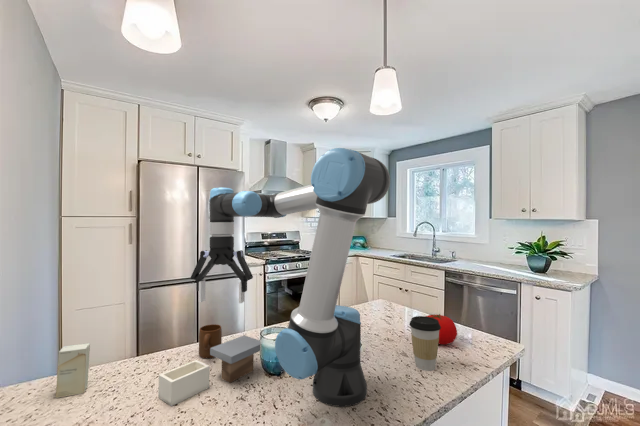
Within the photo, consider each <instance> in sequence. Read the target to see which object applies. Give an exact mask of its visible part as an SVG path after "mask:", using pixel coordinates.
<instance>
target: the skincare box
mask: <svg viewBox="0 0 640 426" xmlns="http://www.w3.org/2000/svg"><path fill="white" fill-rule="evenodd" d="M90 348H91V343H90V342H89V343H88V342H87V343H79V344H73V345H64V346H62V347H61V349H60V350H59V351H58V359H57V371H56V389H55V399H59V398H63V397H65V398H66V397H70V396H76V395H77V396H78V395H82V394H85V391H86V390H87V388H88V384H89V383H88V382H89V367H90V351H91V349H90Z"/></svg>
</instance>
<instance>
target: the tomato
mask: <svg viewBox="0 0 640 426" xmlns="http://www.w3.org/2000/svg"><path fill="white" fill-rule="evenodd" d="M425 316H426V317H431V318H434V319H437V320H438V321H439V324H440V326H441V329H440V330H439V343H438V345H444V346H445V345H449V344H452V343H454V341H456V339H457V336H458V330H457V326H456V324H455V322H454V320H453V319H451V318H450V317H448V316H445V315H443V314H442V315H441V313H439V314H432V313H431V314H430V313H429V314H428V315H425Z"/></svg>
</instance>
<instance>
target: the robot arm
mask: <svg viewBox="0 0 640 426" xmlns="http://www.w3.org/2000/svg"><path fill="white" fill-rule="evenodd" d="M310 183H311V184H308V185H304V186H299V187H297V188H292V189H289V190H285V191H281V192H277V193H273V194H262V193H257V192H255V191H252V190H250V191H249V190H248V191H247V190H242V191H238V192H235V191H234V189H232V188H230V187H213V188H212V189H210V191H209V235H210V237H209V251H208V250H201V251H200V252H199V253H200V254H199V259H198V260H197V263H196V265H195V267H194V269H193V270H192V273H191V276H190V279H191V280H193V281H195V282H196V291H197V292H198V303H203V302H205V301H206V280H205V278H206V277H207V275H208V274H209V272H210V271H211V270H212V269H213V267H214V266H217V265H218V266H219V265H222V266H224V265H225V266H226V265H227V266H228V267H230V269H231V270H232V271H233V273H234V274H235V275H236V276H237V278H239V280H240V281H239V282H238V304H243V303H244V302H245V293H246V292H247V291H248V281H250V280H253V278H254V275H253V274H252V271H251V270H250V267H249V264H248V262H247V261H246V258H245V254H244V251H243V250H237V251H235V250H234V247H235V245H234V244H235V237H234V232H235V227H234V225H235V223H234V222H235V218H236V217H237V218H239V217H240V218H243V217H244V218H250V217H251V218H274V219H278V218H284V217H286V216H287V215H291V214H295V213H297V214H298V213H301V212H307V211H311V210H318V211H319V216H318V221H317V225H316V229H315V235H314V239H313V244H312V247H311V252H310V257H309V261H308V267H307V270H306V275H305V280H304V284H303V290H302V294H301V298H300V302H299V306H298V307H296V308H294V309H293V310H292V311H291V313H290V317H289V322H288V327H287V328H286V327H285V328H283V329H282V330H281V331H279V332H278V334H277V335H276V338H275V342H274V349H275V355H276V358H277V360H278V364H279V365H280V366H281V368H282V369H283V370H284V371H285V372H286V374H288V376H290V377H292V378H294V379H295V380H304V379H307V378H309V377H313V379H312V395H313V396H314V397H315V398H316V399H317V400H318V401H319V402H321V403H323V404H325V405H328V406H334V407H351V406H354V405H357V404H359V403H361V402H362V401H364V400H365V398H366V396H367V393H368V390H367V389H368V384H367V380H366V377H365V374H364V371H363V367H362V363H361V337H362V336H361V332H362V331H361V328H362V322H361V313H360V312H359V310H358V309H356V308H354V307H351V306H346V305H337V303H338V299H339V294H340V290H341V287H342V283H343V278H344V274H345V271H346V270H345V269H346V266H347V261H348V258H349V257H348V256H349V253H350V248H351V244H352V241H353V237H354V232H355V228H356V224H357V221H359V219H361V218H363V217H364V216H365V215H366V211H367V207H368V205H370V204H374V203H377V202H379V201H380V200H382V199H383V198H384V197H385V196H386V195H387V193H388V191H389V190H390V186H391V176H390V173H389V170H388V167H386V165H385V164H384V163H383V162H382V161H381V160H379V159H377V158H374V157H371V156H368V155H366V154H365V153H364V154H363V153H361V152H359V151H357V150H353V149H349V148H344V147H336V148H331V149H329V150H327V151H326V152H325V153H324V154H322V155H320V157H319V158H318V159H317V160H316V161H315V164H314V165H313V167H312V170H311V174H310ZM208 257H209V259H210V260H208V262H207V264H206V265H205V263H206V261H207V258H208ZM234 257H235V258H236V259H237V261H238V264H239V265H240V267H239V265H238V264H237V262H236V260H235V259H234ZM204 265H205V266H204ZM203 267H204V268H203Z"/></svg>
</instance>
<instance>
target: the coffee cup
mask: <svg viewBox="0 0 640 426" xmlns="http://www.w3.org/2000/svg"><path fill="white" fill-rule="evenodd" d="M426 316H427V315H423V316H422V315H417V316H416V315H415V316H412V317H411V319H410V321H409V327H410V329H411V333H410V335H411V336H410V337H411V342H412V343H411V344H412V353H413V356H414V366H415V367H416V368H417V369H419V370H421V371H425V372H431V371H432V372H433V371H434V370H435V369H436V367H437V366H436V364H437V357H438V350H439V344H438V343H439V330H440V329H441V326H440V324H439V321H438V320H437V319H434V318H431V317H426Z"/></svg>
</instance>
